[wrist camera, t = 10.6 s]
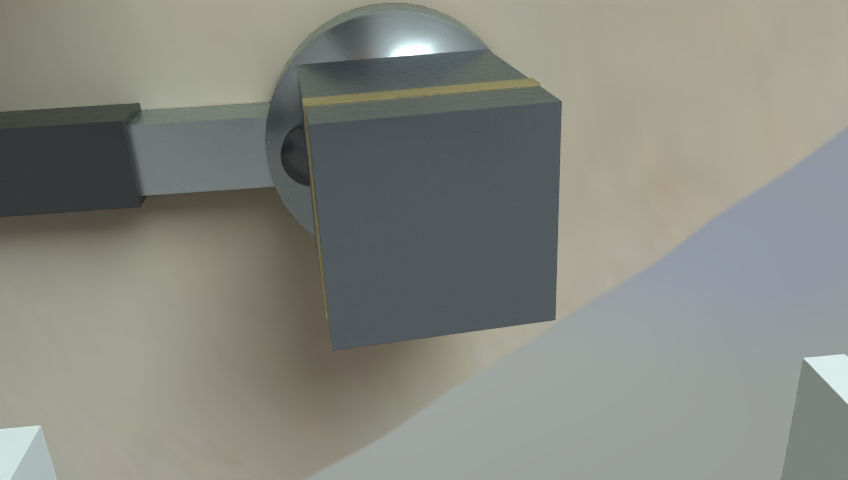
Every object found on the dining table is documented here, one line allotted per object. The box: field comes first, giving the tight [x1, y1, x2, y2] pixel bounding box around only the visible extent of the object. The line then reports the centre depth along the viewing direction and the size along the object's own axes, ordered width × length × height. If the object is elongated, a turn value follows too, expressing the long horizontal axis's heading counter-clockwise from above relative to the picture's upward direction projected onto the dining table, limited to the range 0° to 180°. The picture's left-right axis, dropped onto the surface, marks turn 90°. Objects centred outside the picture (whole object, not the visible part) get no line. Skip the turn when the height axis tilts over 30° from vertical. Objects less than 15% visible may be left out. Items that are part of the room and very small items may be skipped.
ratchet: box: [0, 3, 491, 237], centre depth 29 cm, size 26×10×8 cm, turn 92°
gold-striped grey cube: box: [296, 49, 562, 350], centre depth 27 cm, size 7×7×8 cm
